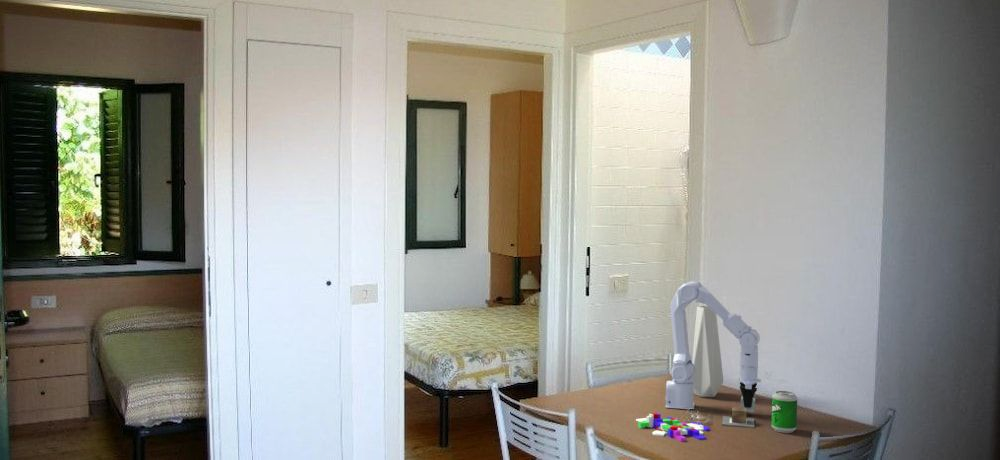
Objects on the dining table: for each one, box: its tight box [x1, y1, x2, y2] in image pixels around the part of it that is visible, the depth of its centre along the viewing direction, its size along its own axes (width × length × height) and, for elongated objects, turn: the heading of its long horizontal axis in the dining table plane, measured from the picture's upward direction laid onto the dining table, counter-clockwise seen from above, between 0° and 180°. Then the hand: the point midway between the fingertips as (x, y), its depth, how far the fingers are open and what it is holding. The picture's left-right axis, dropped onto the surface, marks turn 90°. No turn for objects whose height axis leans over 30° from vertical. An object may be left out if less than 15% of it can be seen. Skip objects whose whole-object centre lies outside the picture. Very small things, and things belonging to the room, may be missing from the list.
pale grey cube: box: [740, 395, 756, 413], centre depth 289 cm, size 4×4×4 cm
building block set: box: [635, 412, 711, 443], centre depth 271 cm, size 25×20×4 cm
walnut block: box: [731, 406, 747, 424], centre depth 279 cm, size 4×4×4 cm
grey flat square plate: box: [721, 415, 755, 429], centre depth 279 cm, size 10×10×1 cm
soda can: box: [771, 390, 798, 434], centre depth 270 cm, size 8×8×12 cm
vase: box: [691, 305, 724, 398], centre depth 315 cm, size 12×12×33 cm
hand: (747, 405), depth 289 cm, fingers closed on pale grey cube, 4 cm apart
